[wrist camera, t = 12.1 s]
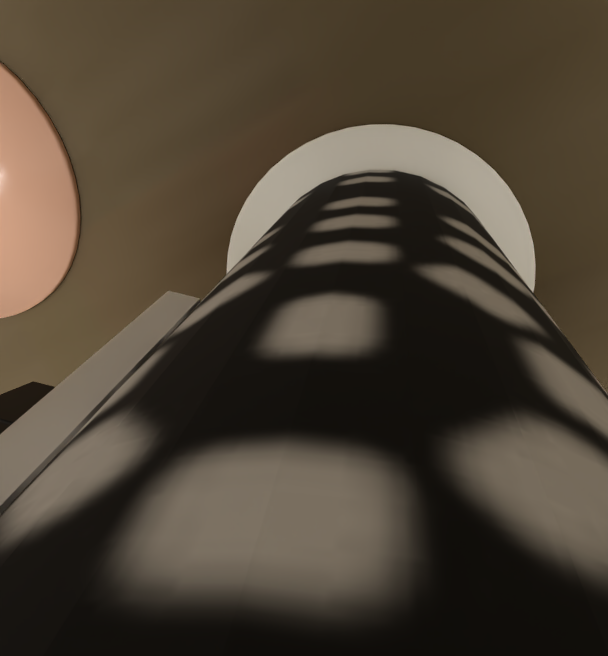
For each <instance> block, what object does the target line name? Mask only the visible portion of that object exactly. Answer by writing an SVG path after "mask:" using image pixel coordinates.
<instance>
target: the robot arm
mask: <svg viewBox="0 0 608 656" xmlns="http://www.w3.org/2000/svg"><path fill="white" fill-rule="evenodd" d="M199 303H200V298H196V297H192V296H188V295H184V294H180V293H175V292H171V291H167V292H166V293H165V294H164V295H163V296H161V297H160V298H159V299H158V300H157V301H156V302H154V303H153V304H152V305H151V306H150V307H149V308H147V309H146V310H145V311H144V312H143V313H142V314H140V315H139V316H138V317H137V318H136V319H135V320H133V321H132V322H131V323H130V324H129V325H128V326H126V327H125V328H124V329H123V330H122V331H121V332H119V333H118V334H117V335H116V336H115V337H113V338H112V339H111V340H110V341H109V342H108V343H106V344H105V345H104V346H103V347H102V348H101V349H99V350H98V351H97V352H96V353H95V354H94V355H92V356H91V357H90V358H89V359H88V360H87V361H85V362H84V363H83V364H82V365H81V366H80V367H78V368H77V369H76V370H75V371H74V372H73V373H71V374H70V375H69V376H68V377H67V378H66V379H64V380H63V381H62V382H61V383H60V384H59V385H57V386H56V387H53V386H49V385H45V384H41V383H37V382H31V383H28V384H26V385H23V386H21V387H18V388H16V389H13V390H11V391H8V392H6V393H3V394H1V395H0V514H1V513H2V512H3V511H4V510H5V509H6V508H7V507H8V506H9V505H10V504H11V503H12V502H13V501H14V499H15V498H16V497H17V496H18V495H19V494H20V493H21V492H22V491H23V490H24V489H25V488H26V487H27V486H28V485H29V484H30V483H31V481H32V480H33V479H34V478H35V477H36V476H37V475H38V474H39V473H40V472H41V471H42V470H43V469H44V468H45V467H46V466H47V464H48V463H49V462H50V461H51V460H52V459H53V458H54V457H55V456H56V455H57V454H58V453H59V452H60V451H61V450H62V449H63V447H64V446H65V445H66V444H67V443H68V442H69V441H70V440H71V439H72V438H73V437H74V436H75V435H76V434H77V433H78V432H79V430H80V429H81V428H82V427H83V426H84V425H85V424H86V423H87V422H88V421H89V420H90V419H91V418H92V417H93V416H94V415H95V413H96V412H97V411H98V410H99V409H100V408H101V407H102V406H103V405H104V404H105V403H106V402H107V401H108V400H109V399H110V398H111V396H112V395H113V394H114V393H115V392H116V391H117V390H118V389H119V388H120V387H121V386H122V385H123V384H124V383H125V382H126V381H127V379H128V378H129V377H130V376H131V375H132V374H133V373H134V372H135V371H136V370H137V369H138V368H139V367H140V366H141V365H142V364H143V362H144V361H145V360H146V359H147V358H148V357H149V356H150V355H151V354H152V353H153V352H154V351H155V350H156V349H157V348H158V347H159V345H160V344H161V343H162V342H163V341H164V340H165V339H166V338H167V337H168V336H169V335H170V334H171V333H172V332H173V331H174V330H175V328H176V327H177V326H178V325H179V324H180V323H181V322H182V321H183V320H184V319H185V318H186V317H187V316H188V315H189V314H190V313H191V311H192V310H193V309H194V308H195V307H196V306H197V305H198V304H199Z"/></svg>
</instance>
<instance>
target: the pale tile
mask: <svg viewBox="0 0 608 656" xmlns="http://www.w3.org/2000/svg"><path fill="white" fill-rule="evenodd" d="M365 170H396V171H400V172H405V173H409V174H413V175H418V176H421V177H423V178H425V179H428V180H430V181H432V182H434V183H436V184H438V185H440V186H443V187H444V188H446V189H447V190H448V191H450V192H451V193H452V194H454V195H455V196H456V197H458V198H459V199H460V200H462V201H463V202H464V203H465V204H466V205H467V206H468V208H469V209H470V210H471V211H472V212H473V213H474V215H475V216H476V217H477V218H478V219H479V221H480V222H481V223H482V224H483V226H484V227H485V229H486V230H487V231H488V233H489V234H490V235H491V237H492V238H493V239H494V241H495V242H496V243H497V245H498V246H499V247H500V249H501V250H502V252H503V253H504V254H505V256H506V257H507V258H508V260H509V261H510V262H511V264H512V265H513V266H514V268H515V269H516V270H517V272H518V273H519V275H520V276H521V277H522V279H523V280H524V281H525V283H526V284H527V285H528V287H529V288H530V289H531V291H532V292H534V286H535V268H536V263H535V254H534V244H533V241H532V237H531V233H530V229H529V225H528V223H527V220H526V218H525V216H524V213H523V211H522V209H521V206H520V204H519V203H518V201H517V199H516V198H515V196H514V195H513V193H512V191H511V190H510V188H509V187H508V185H507V184H506V183H505V182H504V181H503V180H502V178H501V177H500V176H499V175H498V174H497V173H496V171H495V170H494V169H493V168H491V167H490V166H489V165H488V164H487V163H486V162H485V161H483V160H482V159H481V158H480V157H479V156H478V155H476V154H474V153H473V152H471V151H470V150H468V149H467V148H465V147H463V146H462V145H460V144H459V143H457V142H455V141H453V140H451V139H448V138H446V137H444V136H442V135H439V134H437V133H434V132H430V131H427V130H423V129H420V128H416V127H410V126H403V125H396V124H369V125H362V126H355V127H348V128H345V129H341V130H338V131H334V132H331V133H328V134H325V135H323V136H321V137H319V138H316V139H314V140H312V141H310V142H307V143H306V144H304V145H302V146H301V147H299V148H297V149H296V150H294V151H293V152H291V153H289V154H288V155H287V156H285V157H284V158H283V159H282V160H281V161H279V162H278V163H277V164H276V165H275V166H273V167H272V168H271V169H270V170H269V171H268V172H267V174H266V175H265V176H264V177H263V178H262V179H261V180H260V181H259V182H258V183H257V185H256V186H255V188H254V189H253V191H252V192H251V194H250V195H249V197H248V198H247V199H246V201H245V203H244V205H243V207H242V209H241V211H240V213H239V215H238V217H237V220H236V223H235V226H234V229H233V232H232V235H231V239H230V244H229V250H228V256H227V273H228V272H229V271H230V270H231V269H232V268H233V267H234V266H235V265H236V264H237V263H238V262H239V260H240V259H241V258H242V257H243V256H244V255H245V254H246V253H247V252H248V251H249V250H250V249H251V248H252V247H253V246H254V245H255V243H256V242H257V241H258V240H259V239H260V238H261V237H262V236H263V235H264V234H265V233H266V232H267V231H268V230H269V229H270V228H271V227H272V225H273V224H274V223H275V222H276V221H277V220H278V219H279V218H280V217H281V216H282V215H283V214H284V213H285V212H286V211H287V210H288V209H289V208H290V207H291V206H292V205H293V204H294V203H295V202H296V201H297V200H298V199H299V198H300V197H301V196H303V195H304V194H306V193H307V192H309V191H310V190H312V189H313V188H315V187H316V186H318V185H319V184H321V183H323V182H326V181H328V180H331V179H333V178H336V177H338V176H341V175H343V174H348V173H354V172H359V171H365Z"/></svg>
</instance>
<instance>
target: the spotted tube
mask: <svg viewBox="0 0 608 656" xmlns="http://www.w3.org/2000/svg"><path fill="white" fill-rule="evenodd" d="M0 656H608V394H607V392H606V391H605V389H604V388H603V387H602V385H601V384H600V383H599V381H598V380H597V379H596V377H595V376H594V375H593V373H592V372H591V371H590V369H589V368H588V366H587V365H586V364H585V362H584V361H583V360H582V358H581V357H580V356H579V354H578V353H577V352H576V350H575V349H574V348H573V346H572V345H571V343H570V342H569V341H568V339H567V338H566V337H565V335H564V334H563V333H562V331H561V330H560V329H559V327H558V326H557V325H556V323H555V322H554V320H553V319H552V318H551V316H550V315H549V314H548V312H547V311H546V310H545V308H544V307H543V306H542V304H541V303H540V302H539V300H538V299H537V298H536V296H535V295H534V293H533V292H532V291H531V289H530V288H529V287H528V285H527V284H526V283H525V281H524V280H523V279H522V277H521V276H520V275H519V273H518V272H517V270H516V269H515V268H514V266H513V265H512V264H511V262H510V261H509V260H508V258H507V257H506V256H505V254H504V253H503V252H502V250H501V249H500V247H499V246H498V245H497V243H496V242H495V241H494V239H493V238H492V237H491V235H490V234H489V233H488V231H487V230H486V229H485V227H484V226H483V224H482V223H481V222H480V221H479V219H478V218H477V217H476V216H475V215H474V213H473V212H472V211H471V210H470V209H469V208H468V206H467V205H466V204H465V203H464V202H463V201H462V200H460V199H459V198H458V197H456V196H455V195H454V194H452V193H451V192H450V191H448V190H447V189H446V188H444V187H443V186H440V185H438V184H436V183H434V182H432V181H430V180H428V179H425V178H423V177H421V176H418V175H413V174H409V173H405V172H400V171H396V170H365V171H359V172H354V173H348V174H343V175H341V176H338V177H336V178H333V179H331V180H328V181H326V182H323V183H321V184H319V185H318V186H316V187H315V188H313V189H312V190H310V191H309V192H307V193H306V194H304V195H303V196H301V197H300V198H299V199H298V200H297V201H296V202H295V203H294V204H293V205H292V206H291V207H290V208H289V209H288V210H287V211H286V212H285V213H284V214H283V215H282V216H281V217H280V218H279V219H278V220H277V221H276V222H275V223H274V224H273V225H272V227H271V228H270V229H269V230H268V231H267V232H266V233H265V234H264V235H263V236H262V237H261V238H260V239H259V240H258V241H257V242H256V243H255V245H254V246H253V247H252V248H251V249H250V250H249V251H248V252H247V253H246V254H245V255H244V256H243V257H242V258H241V259H240V260H239V262H238V263H237V264H236V265H235V266H234V267H233V268H232V269H231V270H230V271H229V272H228V273H227V274H226V275H225V276H224V277H223V279H222V280H221V281H220V282H219V283H218V284H217V285H216V286H215V287H214V288H213V289H212V290H211V291H210V292H209V293H208V294H207V296H206V297H205V298H204V299H203V300H202V301H201V302H200V303H199V304H198V305H197V306H196V307H195V308H194V309H193V310H192V311H191V313H190V314H189V315H188V316H187V317H186V318H185V319H184V320H183V321H182V322H181V323H180V324H179V325H178V326H177V327H176V328H175V330H174V331H173V332H172V333H171V334H170V335H169V336H168V337H167V338H166V339H165V340H164V341H163V342H162V343H161V344H160V345H159V347H158V348H157V349H156V350H155V351H154V352H153V353H152V354H151V355H150V356H149V357H148V358H147V359H146V360H145V361H144V362H143V364H142V365H141V366H140V367H139V368H138V369H137V370H136V371H135V372H134V373H133V374H132V375H131V376H130V377H129V378H128V379H127V381H126V382H125V383H124V384H123V385H122V386H121V387H120V388H119V389H118V390H117V391H116V392H115V393H114V394H113V395H112V396H111V398H110V399H109V400H108V401H107V402H106V403H105V404H104V405H103V406H102V407H101V408H100V409H99V410H98V411H97V412H96V413H95V415H94V416H93V417H92V418H91V419H90V420H89V421H88V422H87V423H86V424H85V425H84V426H83V427H82V428H81V429H80V430H79V432H78V433H77V434H76V435H75V436H74V437H73V438H72V439H71V440H70V441H69V442H68V443H67V444H66V445H65V446H64V447H63V449H62V450H61V451H60V452H59V453H58V454H57V455H56V456H55V457H54V458H53V459H52V460H51V461H50V462H49V463H48V464H47V466H46V467H45V468H44V469H43V470H42V471H41V472H40V473H39V474H38V475H37V476H36V477H35V478H34V479H33V480H32V481H31V483H30V484H29V485H28V486H27V487H26V488H25V489H24V490H23V491H22V492H21V493H20V494H19V495H18V496H17V497H16V498H15V499H14V501H13V502H12V503H11V504H10V505H9V506H8V507H7V508H6V509H5V510H4V511H3V512H2V513H1V514H0Z"/></svg>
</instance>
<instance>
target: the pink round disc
mask: <svg viewBox="0 0 608 656" xmlns="http://www.w3.org/2000/svg"><path fill="white" fill-rule="evenodd" d="M80 219H81V215H80V201H79V194H78V189H77V183H76V178H75V175H74V172H73V168H72V165H71V162H70V159H69V156H68V154H67V151H66V149H65V147H64V144H63V142H62V140H61V137H60V136H59V134H58V132H57V130H56V128H55V127H54V125H53V123H52V121H51V119H50V118H49V116H48V115H47V113H46V112H45V110H44V109H43V107H42V106H41V105H40V103H39V102H38V100H37V99H36V98H35V96H34V95H33V94H32V93H31V92H30V91H29V89H28V88H27V87H26V86H25V85H24V84H23V82H22V81H21V80H20V79H19V78H18V77H17V76H16V75H15V74H14V73H13V72H11V71H10V70H9V69H8V68H7V67H6V66H5V65H4V64H3V63H1V62H0V318H4V317H8V316H13V315H16V314H19V313H21V312H23V311H26V310H28V309H30V308H32V307H33V306H35V305H37V304H38V303H40V302H41V301H43V300H45V299H46V298H47V297H48V296H49V295H50V294H51V293H53V292H54V291H55V290H56V289H57V287H58V286H59V285H60V283H61V282H62V281H63V280H64V278H65V276H66V275H67V273H68V271H69V269H70V267H71V265H72V262H73V259H74V257H75V254H76V251H77V246H78V240H79V235H80Z"/></svg>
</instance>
